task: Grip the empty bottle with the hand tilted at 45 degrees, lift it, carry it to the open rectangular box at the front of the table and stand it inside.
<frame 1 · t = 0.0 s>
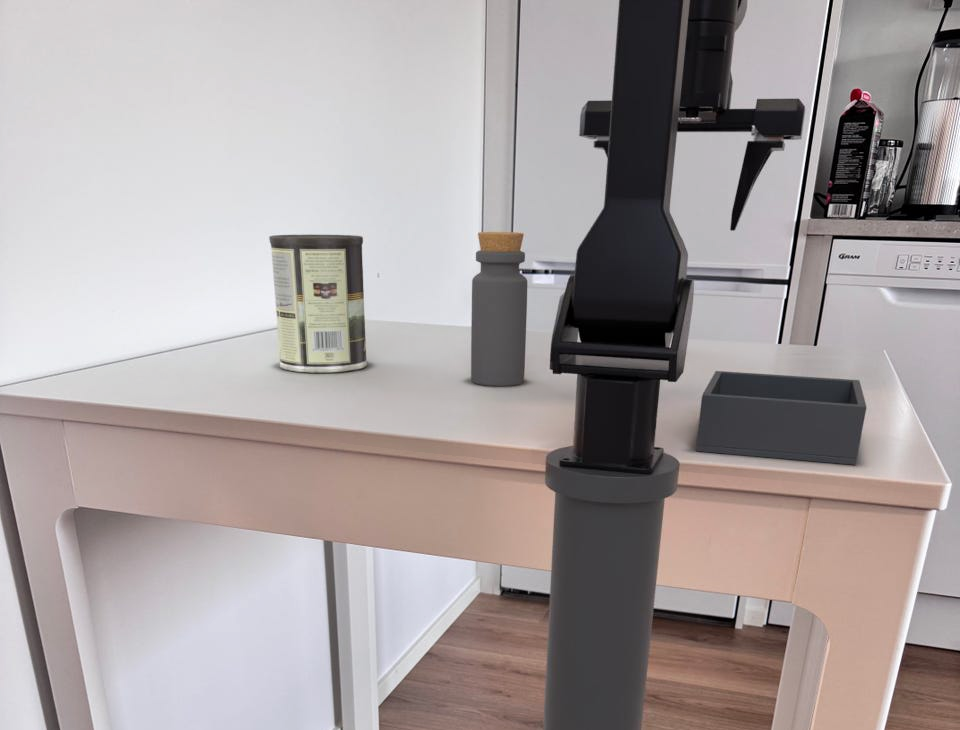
hand: (680, 229, 86), 16 cm above the table, tool pointing down, fingers open, 9 cm apart
bottle: (497, 383, 104), on the table
coffee can: (323, 367, 111), on the table
open rectangular box: (776, 441, 80), on the table
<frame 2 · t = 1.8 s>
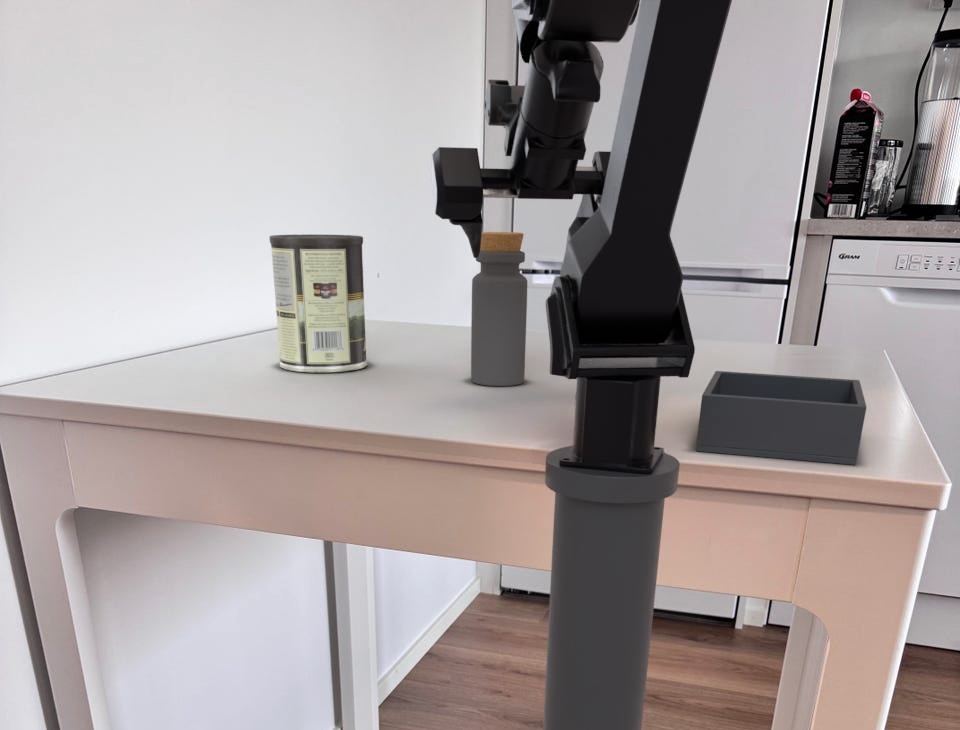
hand: (522, 254, 91), 13 cm above the table, tool tilted 45°, fingers open, 9 cm apart
nothing on the table moved.
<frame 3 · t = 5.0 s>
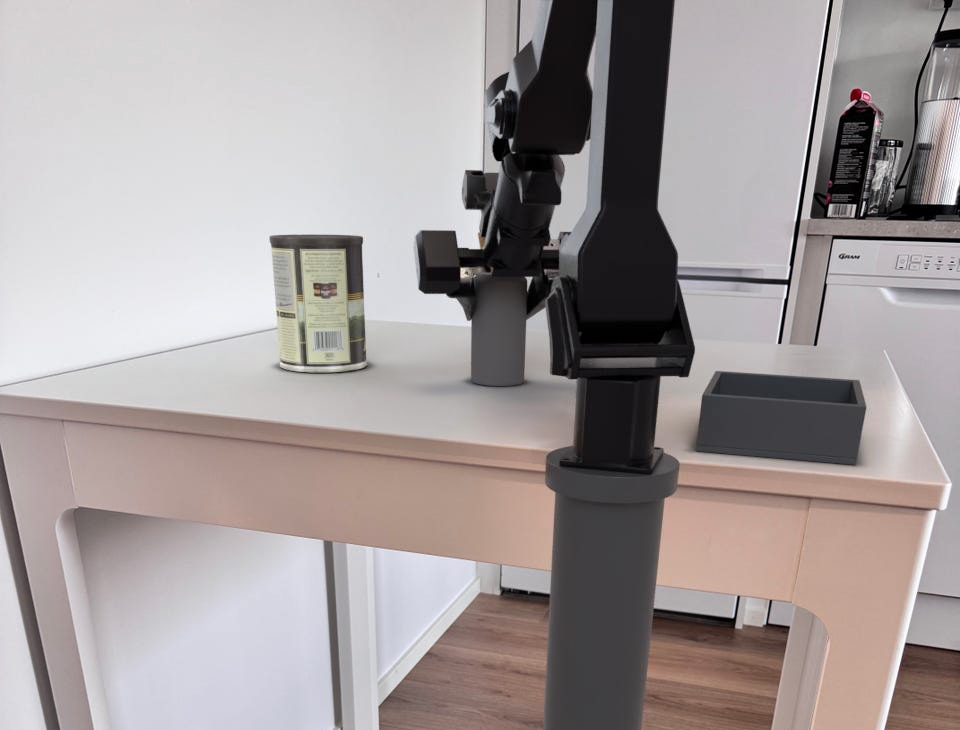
hand: (496, 317, 102), 7 cm above the table, tool tilted 45°, fingers closed on bottle, 6 cm apart
bottle: (497, 383, 104), on the table, touching gripper
everything else where it was.
when the fingers open (7 cm above the table, at t = 15.2 s): bottle stays where it is, resting on open rectangular box.
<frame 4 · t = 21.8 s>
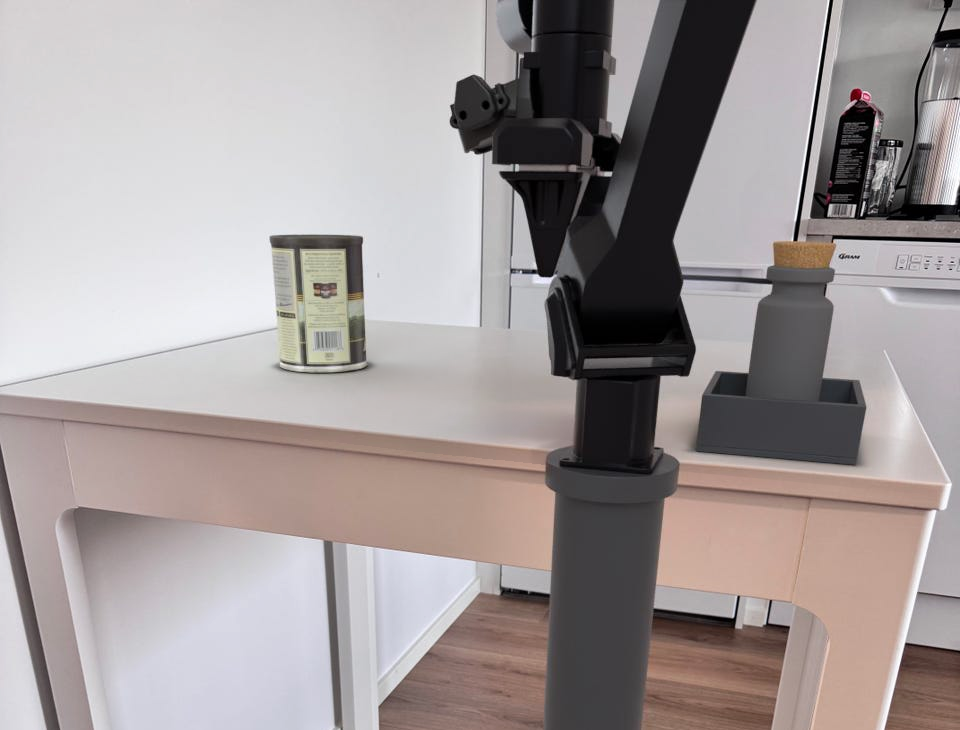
hand: (560, 273, 74), 13 cm above the table, tool pointing down, fingers open, 9 cm apart
bottle: (775, 437, 80), resting on open rectangular box
everything else where it was.
at the end: bottle inside the target area in the open rectangular box (0.1 cm from its centre), point 0.3 cm above the open rectangular box's base; the gripper is holding nothing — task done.
